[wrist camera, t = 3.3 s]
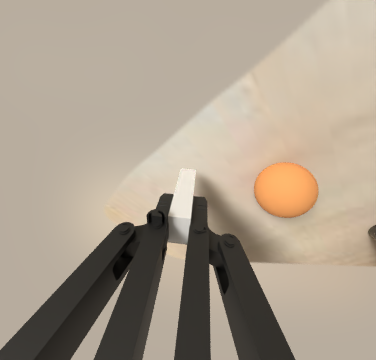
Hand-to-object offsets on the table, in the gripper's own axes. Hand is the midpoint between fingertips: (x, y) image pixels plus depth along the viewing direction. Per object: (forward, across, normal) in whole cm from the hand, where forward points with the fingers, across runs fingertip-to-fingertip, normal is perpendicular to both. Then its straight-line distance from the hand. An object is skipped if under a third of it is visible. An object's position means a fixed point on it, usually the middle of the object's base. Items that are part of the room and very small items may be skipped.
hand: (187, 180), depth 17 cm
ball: (0, -10, 0) cm, 10 cm away
